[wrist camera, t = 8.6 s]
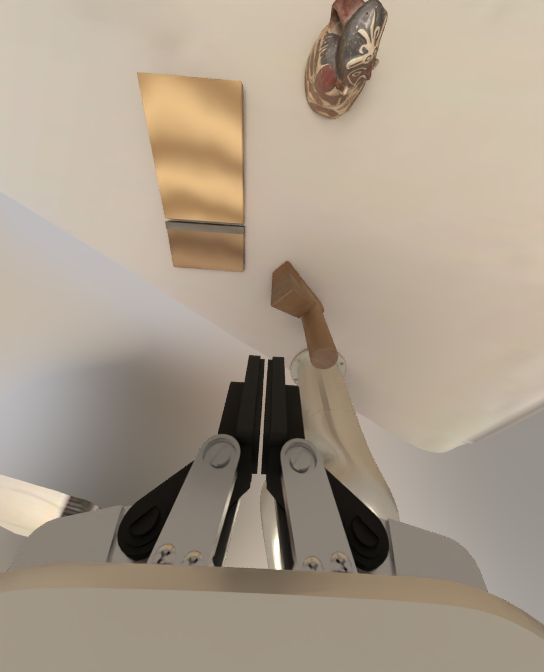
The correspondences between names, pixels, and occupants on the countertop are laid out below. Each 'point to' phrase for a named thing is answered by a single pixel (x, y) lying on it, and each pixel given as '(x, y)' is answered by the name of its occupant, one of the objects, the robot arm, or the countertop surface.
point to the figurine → (344, 56)
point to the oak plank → (196, 145)
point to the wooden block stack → (304, 314)
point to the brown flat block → (206, 245)
